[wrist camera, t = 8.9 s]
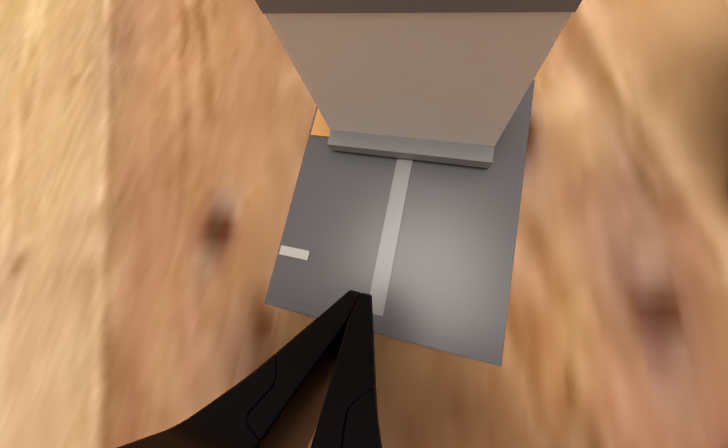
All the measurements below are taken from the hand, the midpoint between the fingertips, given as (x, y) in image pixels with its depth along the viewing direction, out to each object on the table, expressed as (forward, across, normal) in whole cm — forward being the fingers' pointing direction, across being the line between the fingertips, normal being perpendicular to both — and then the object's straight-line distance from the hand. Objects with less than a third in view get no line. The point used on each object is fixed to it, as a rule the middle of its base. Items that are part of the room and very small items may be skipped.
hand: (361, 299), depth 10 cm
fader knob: (+12, 0, -4) cm, 12 cm away
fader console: (+11, 0, +2) cm, 11 cm away
